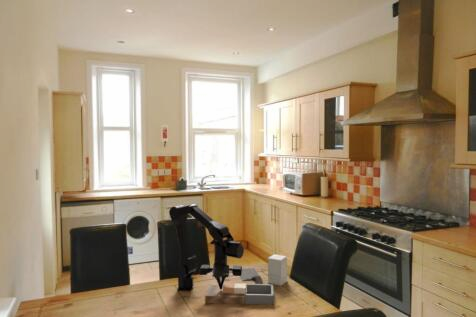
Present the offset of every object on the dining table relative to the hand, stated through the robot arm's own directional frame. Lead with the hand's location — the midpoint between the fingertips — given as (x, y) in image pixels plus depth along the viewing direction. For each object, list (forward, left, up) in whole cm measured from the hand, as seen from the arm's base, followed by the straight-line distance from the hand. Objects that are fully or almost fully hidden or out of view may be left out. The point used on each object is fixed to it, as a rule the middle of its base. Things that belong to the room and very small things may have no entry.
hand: (220, 289), depth 161 cm
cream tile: (+9, 0, -1) cm, 9 cm away
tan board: (+2, 0, -4) cm, 4 cm away
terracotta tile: (+4, 0, -1) cm, 4 cm away
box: (+17, 0, -4) cm, 18 cm away
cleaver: (+13, +22, -4) cm, 26 cm away
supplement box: (+26, +19, -4) cm, 32 cm away
